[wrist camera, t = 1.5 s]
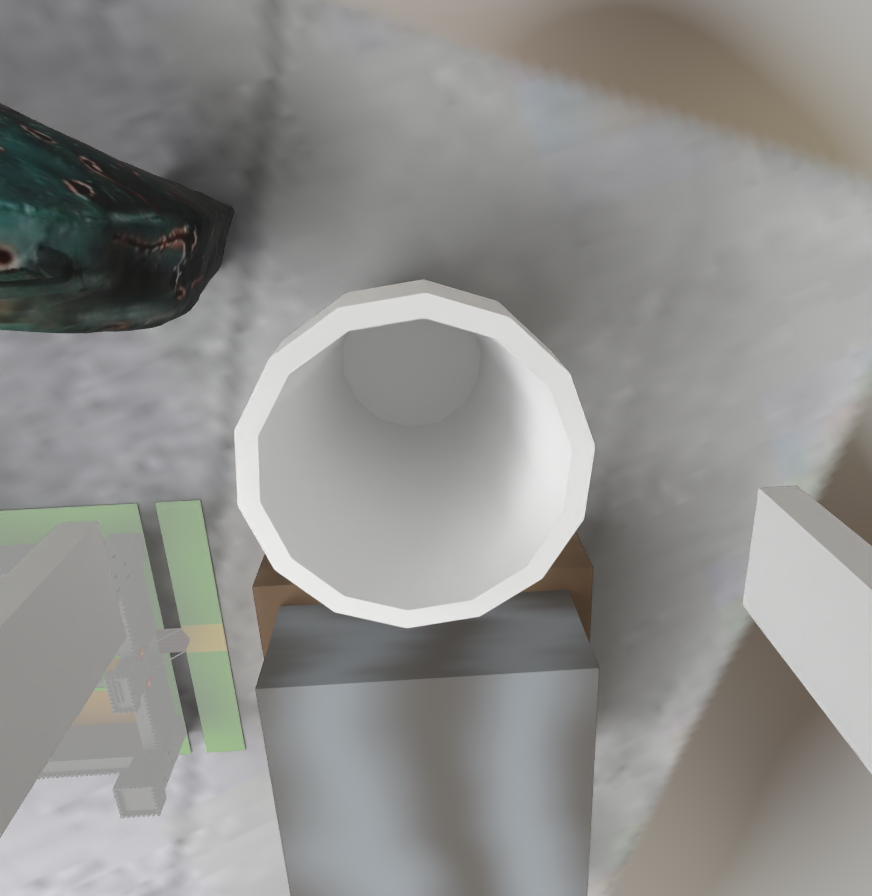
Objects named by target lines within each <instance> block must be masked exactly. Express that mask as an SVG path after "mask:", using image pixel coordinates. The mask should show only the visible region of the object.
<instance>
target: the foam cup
mask: <svg viewBox="0 0 872 896" xmlns="http://www.w3.org/2000/svg"><path fill="white" fill-rule="evenodd" d="M234 440H235V462H236V484H237V505H238V508H239V509H240V511H241V513H242V515H243V516H244V518H245V520H246V521H247V523H248V525H249V527H250V528H251V530H252V532H253V534H254V535H255V537H256V539H257V541H258V542H259V544H260V546H261V548H262V549H263V551H264V553H265V554H266V556H267V558H268V560H269V561H270V563H271V565H272V567H273V568H274V570H275V571H277V572H278V573H280V574H281V575H282V576H284V577H285V578H287V579H288V580H289V581H291V582H292V583H294V584H295V585H297V586H298V587H299V588H301V589H302V590H304V591H305V592H306V593H308V594H309V595H311V596H312V597H314V598H315V599H316V600H318V601H319V602H321V603H322V604H323V605H325V606H326V607H328V608H329V609H331V610H332V611H333V612H335V613H340V614H344V615H349V616H353V617H358V618H362V619H367V620H371V621H376V622H380V623H385V624H389V625H394V626H398V627H403V628H412V627H419V626H425V625H431V624H437V623H443V622H450V621H456V620H462V619H468V618H474V617H480V616H482V615H483V614H485V613H487V612H488V611H490V610H492V609H493V608H495V607H497V606H498V605H500V604H501V603H503V602H505V601H506V600H508V599H510V598H511V597H513V596H515V595H516V594H518V593H520V592H521V591H523V590H525V589H526V588H528V587H529V586H531V585H533V584H534V583H536V582H538V581H539V580H541V579H543V577H544V576H545V574H546V573H547V571H548V570H549V569H550V567H551V566H552V564H553V563H554V561H555V560H556V559H557V557H558V556H559V554H560V553H561V551H562V550H563V549H564V547H565V546H566V544H567V543H568V541H569V540H570V539H571V537H572V536H573V534H574V533H575V531H576V530H577V529H578V527H579V526H580V524H581V523H582V521H583V520H584V517H585V510H586V504H587V497H588V491H589V484H590V478H591V471H592V465H593V458H594V452H595V444H594V441H593V438H592V435H591V432H590V429H589V426H588V424H587V421H586V418H585V415H584V412H583V409H582V406H581V403H580V400H579V398H578V395H577V392H576V389H575V386H574V383H573V380H572V377H571V374H570V373H569V372H568V370H567V369H566V368H565V367H564V366H563V364H562V363H561V362H560V361H559V360H558V358H557V357H556V356H555V355H554V354H553V352H552V351H551V350H550V349H548V348H547V347H546V346H545V345H544V344H543V343H542V342H541V341H540V340H539V339H538V338H537V337H536V336H535V335H534V334H532V333H531V332H530V331H529V330H528V329H527V328H526V327H525V326H524V325H523V324H522V323H521V322H520V321H519V320H518V319H516V318H515V317H514V316H513V315H512V314H511V313H510V312H509V311H508V310H507V309H506V308H505V307H504V306H503V305H502V304H500V303H499V302H498V301H496V300H492V299H489V298H486V297H482V296H479V295H475V294H472V293H469V292H465V291H462V290H458V289H455V288H452V287H448V286H445V285H441V284H438V283H435V282H431V281H428V280H424V279H422V280H416V281H410V282H404V283H399V284H393V285H387V286H381V287H375V288H370V289H364V290H358V291H352V292H347V293H345V294H343V295H342V296H341V297H339V298H338V299H337V300H335V301H334V302H333V303H331V304H330V305H329V306H327V307H326V308H324V309H323V310H322V311H320V312H319V313H318V314H316V315H315V316H314V317H312V318H311V319H310V320H308V321H307V322H305V323H304V324H303V325H301V326H300V327H299V328H297V329H296V330H295V331H293V332H292V333H291V334H289V335H288V336H286V337H285V338H284V339H283V341H282V342H281V343H280V345H279V346H278V347H277V349H276V350H275V351H274V352H273V354H272V355H271V356H270V358H269V359H268V361H267V364H266V366H265V368H264V370H263V372H262V374H261V376H260V378H259V380H258V382H257V384H256V386H255V388H254V390H253V392H252V394H251V397H250V399H249V401H248V403H247V405H246V407H245V409H244V411H243V413H242V415H241V417H240V419H239V421H238V423H237V425H236V427H235V429H234Z"/></svg>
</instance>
